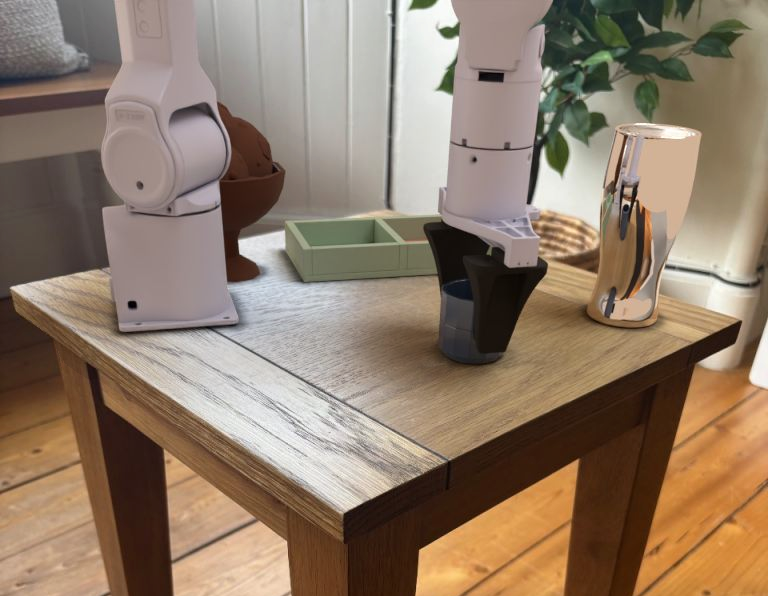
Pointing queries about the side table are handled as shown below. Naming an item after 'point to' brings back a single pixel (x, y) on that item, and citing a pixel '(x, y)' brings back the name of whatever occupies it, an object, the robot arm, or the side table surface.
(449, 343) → the handleless cup
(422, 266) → the tray
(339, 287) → the side table surface
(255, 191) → the ice cream bowl
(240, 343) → the side table surface
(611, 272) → the beer glass
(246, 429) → the side table surface
